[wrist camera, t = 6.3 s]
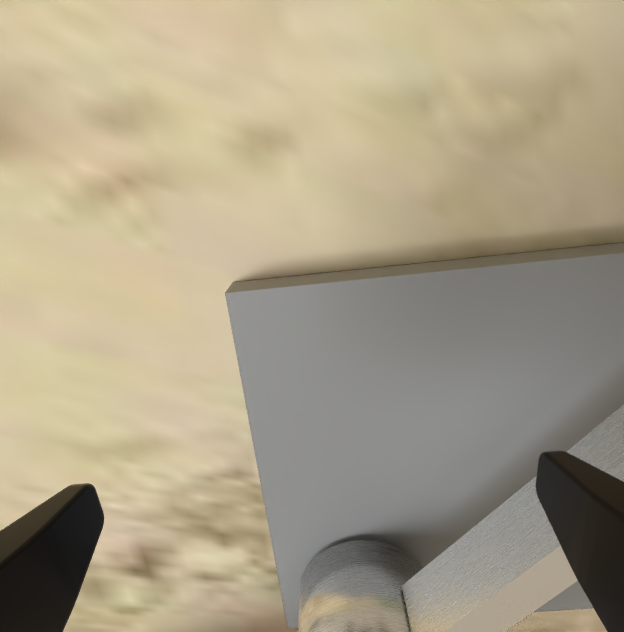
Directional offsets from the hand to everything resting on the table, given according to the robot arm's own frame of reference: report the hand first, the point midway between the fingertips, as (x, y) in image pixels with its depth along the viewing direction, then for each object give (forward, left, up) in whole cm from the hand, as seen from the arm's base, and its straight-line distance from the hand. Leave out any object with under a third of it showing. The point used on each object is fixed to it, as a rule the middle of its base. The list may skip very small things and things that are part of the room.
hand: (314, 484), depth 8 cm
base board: (-7, -5, -9) cm, 12 cm away
